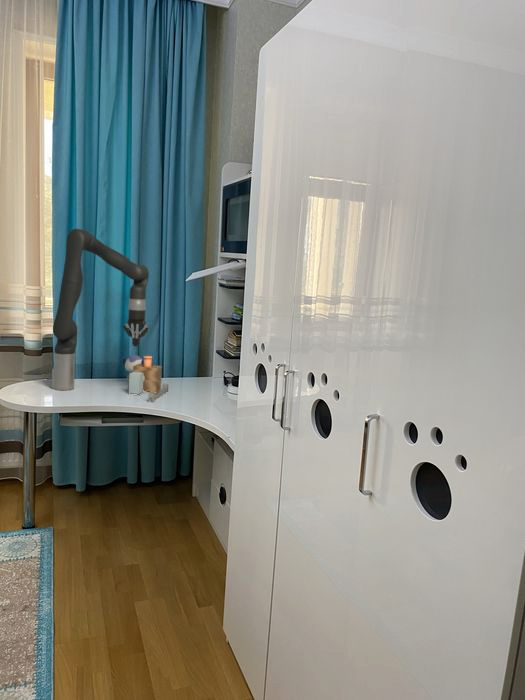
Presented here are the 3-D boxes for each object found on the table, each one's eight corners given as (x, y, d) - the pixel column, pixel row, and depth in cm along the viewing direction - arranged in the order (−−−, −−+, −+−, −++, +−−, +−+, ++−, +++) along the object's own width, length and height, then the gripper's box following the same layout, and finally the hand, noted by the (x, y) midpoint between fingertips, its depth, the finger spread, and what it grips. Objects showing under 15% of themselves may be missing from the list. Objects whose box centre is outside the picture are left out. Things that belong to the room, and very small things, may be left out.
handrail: (148, 401, 269) (148, 393, 268) (163, 391, 291) (163, 383, 290) (153, 402, 269) (153, 393, 268) (168, 392, 290) (168, 384, 290)
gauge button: (141, 373, 288) (142, 356, 286) (144, 372, 292) (145, 355, 290) (149, 374, 287) (150, 357, 286) (152, 372, 291) (153, 356, 290)
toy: (147, 383, 305) (148, 354, 303) (140, 387, 295) (141, 357, 293) (127, 381, 307) (128, 352, 304) (120, 385, 297) (121, 355, 295)
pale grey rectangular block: (128, 394, 280) (129, 373, 278) (132, 392, 285) (133, 371, 284) (139, 395, 279) (139, 374, 277) (143, 393, 284) (144, 372, 283)
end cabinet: (131, 390, 288) (132, 366, 286) (137, 387, 295) (138, 363, 293) (155, 393, 286) (156, 368, 284) (160, 389, 293) (161, 366, 291)
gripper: (153, 309, 273) (152, 346, 276) (126, 306, 275) (125, 343, 278) (147, 310, 266) (146, 348, 268) (120, 308, 268) (118, 345, 271)
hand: (135, 346), depth 273 cm, fingers closed
